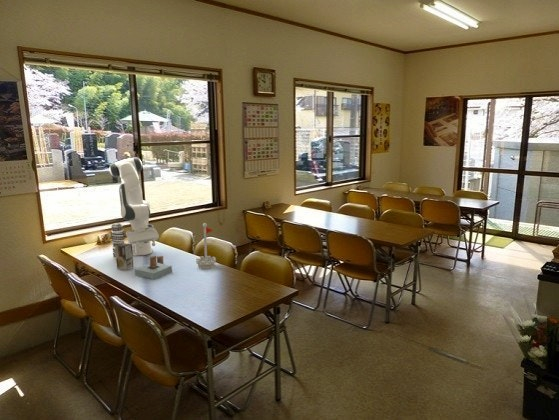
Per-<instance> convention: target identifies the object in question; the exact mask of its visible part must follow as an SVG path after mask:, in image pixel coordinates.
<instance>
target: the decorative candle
mask: <svg viewBox="0 0 559 420" xmlns="http://www.w3.org/2000/svg"><path fill="white" fill-rule="evenodd" d="M110 227H111V231H110V236H111V244H112V257H113V260H116V250H115V245H118V244H120V243H125V240H126V239H125V236H126V235H125V231H124V225H123V224H122V223H120V222H115V223H112V224H111V226H110Z"/></svg>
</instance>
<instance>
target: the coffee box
mask: <svg viewBox="0 0 559 420" xmlns="http://www.w3.org/2000/svg"><path fill="white" fill-rule="evenodd" d="M115 250H116V259H115V260H116V269H119V270H120V269H121V270H124V271H125V270H127V271H128V270H130V269H133V268H134V256H133V254H132V244H127V243H125V242H124V243H120V244H118V245H115Z"/></svg>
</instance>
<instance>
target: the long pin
mask: <svg viewBox="0 0 559 420" xmlns="http://www.w3.org/2000/svg"><path fill="white" fill-rule="evenodd" d="M149 264H150V269H156V268H157V256H156V255H152V256H149Z"/></svg>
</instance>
